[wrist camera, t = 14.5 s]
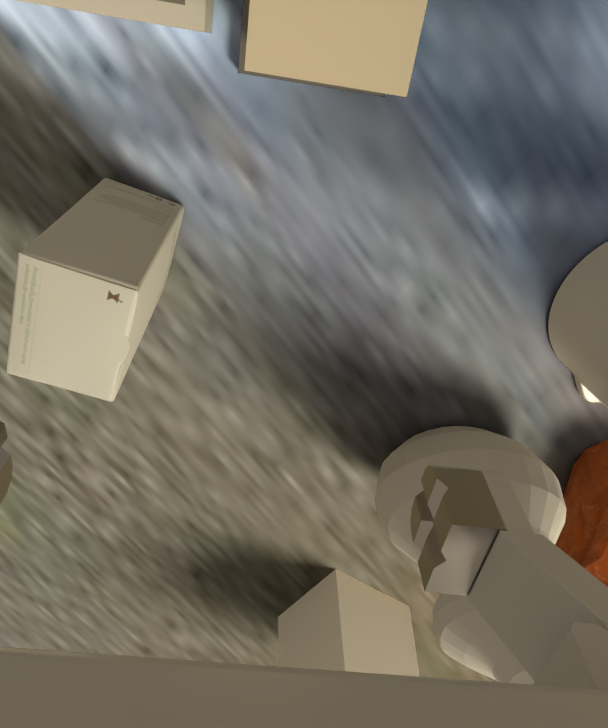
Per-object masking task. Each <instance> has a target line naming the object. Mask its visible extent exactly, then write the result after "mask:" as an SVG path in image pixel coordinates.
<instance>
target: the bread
mask: <svg viewBox="0 0 608 728" xmlns="http://www.w3.org/2000/svg"><path fill="white" fill-rule="evenodd" d="M563 498H564V501H565V505H566V509H567V510H566V519H565V524H564V526H563V528H562V531H561V533H560V535H559V537H558V539H557V542H556V544H555V545H556V546H557V547H559V548H560V549H561V550H562V551H563V552H565V553H566V554H567V555H568V556H570V557H571V558H572V559H573V560H575V561H576V562H577V563H578V564H580V565H581V566H582V567H583V568H585V569H586V570H587V571H588V572H590V573H591V574H592V575H593V576H595V577H596V578H597V579H598V580H600V581H601V582H602V583H603V584H605V585H606V586H607V587H608V439H607V440H605V441H603V442H600V443H598V444H596V445H594V446H592V447H589V448H587V449H585V451H584V452H583V453H582V455H581V456H580V457H579V458H578V460H577V461H576V462H575V464H574V465H573V468H572V471H571V474H570V477H569V480H568V483H567V486H566V489H565V492H564V495H563Z"/></svg>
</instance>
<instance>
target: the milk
mask: <svg viewBox="0 0 608 728" xmlns="http://www.w3.org/2000/svg"><path fill="white" fill-rule="evenodd" d="M278 635H279V667H292V668H306V669H320V670H334V671H349V672H363V673H377V674H391V675H406V676H419V670H418V663H417V656H416V649H415V642H414V635H413V629H412V622H411V615H410V608H409V606H407V605H405V604H403V603H401V602H399V601H397V600H395V599H394V598H392V597H390V596H388V595H386V594H384V593H382V592H380V591H378V590H376V589H374V588H372V587H370V586H368V585H366V584H364V583H362V582H360V581H358V580H356V579H354V578H353V577H351V576H349V575H347V574H345V573H343V572H341V571H339V570H337V569H335V570H334V571H333V572H331V573H330V574H329V575H328V576H327V577H325V578H324V579H323V580H322V581H321V582H319V583H318V584H317V585H316V586H315V587H313V588H312V589H311V590H310V591H309V592H307V593H306V594H305V595H304V596H303V597H301V598H300V599H299V600H298V601H297V602H295V603H294V604H293V605H292V606H291V607H289V608H288V609H287V610H286V611H285V612H283V613H282V614H281V615H280V616H279V617H278Z"/></svg>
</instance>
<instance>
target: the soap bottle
mask: <svg viewBox="0 0 608 728" xmlns="http://www.w3.org/2000/svg"><path fill="white" fill-rule="evenodd" d="M428 465H433V466H443V467H453V468H463V469H473V470H477V469H479V470H491V471H502V472H503V473H504V474H505V475H506V476H507V478H508V480H509V482H510V484H511V486H512V488H513V490H514V492H515V494H516V496H517V498H518V500H519V502H520V504H521V506H522V508H523V510H524V512H525V514H526V516H527V518H528V520H529V522H530V524H531V526H532V529H533V531H534V533H535V534H541V535H544V536H545V537H546V538H547V539H549V540H550V541H551V542H552V543H554V544H556V542H557V539H558V537H559V535H560V533H561V531H562V528H563V526H564V524H565V519H566V510H567V509H566V505H565V501H564V498H563V494H562V490H561V487H560V483H559V480H558V479H557V477H556V475H555V474H554V472H553V471H552V470H551V469H550V468H549V467H548V466H547V465H546V464H545V463H544V462H543V461H542V460H541V459H540V458H538V457H537V456H536V455H535V454H534V453H533V452H532V451H531V450H530V449H528V448H527V447H525V446H524V445H522V444H521V443H519V442H517V441H515V440H512V439H510V438H508V437H505V436H503V435H499V434H496V433H493V432H490V431H487V430H484V429H480V428H475V427H469V426H449V427H440V428H436V429H432V430H428V431H425V432H422V433H419V434H416V435H414V436H413V437H411V438H409V439H408V440H406V441H405V442H404V443H403V444H401V445H400V446H399V447H398V448H397V449H396V450H394V451H393V452H392V453H391V454H390V455H389V456H388V457H387V458H386V459H385V460H384V461H383V463H382V466H381V470H380V473H379V478H378V484H377V490H376V496H375V504H376V511H377V514H378V516H379V519H380V521H381V523H382V525H383V527H384V529H385V531H386V533H387V535H388V537H389V539H390V540H391V542H392V543H393V544H394V545H395V546H396V547H397V548H398V549H399V550H400V551H402V552H403V553H404V554H405V555H407V556H408V557H409V558H410V559H412V560H413V561H414V562H415V563H417V564H418V560H419V557H420V554H421V552H422V551H421V550H420V549H419V548H418V547H417V546H416V545H415V544H414V543H413V539H412V534H411V524H410V520H411V510H412V506H413V502H414V499H415V496H416V495H418V494H419V493H420V492H422V491H423V490H424V489H423V485H422V482H421V478H422V476H423V473H424V470H425V469H426V468H427V466H428ZM433 627H434V635H435V637H436V639H437V641H438V643H439V645H440V647H441V648H442V650H443V651H444V652H445V653H446V654H447V655H448V656H449V657H451V658H453V659H455V660H456V661H458V662H460V663H461V664H463V665H465V666H466V667H468V668H470V669H472V670H475V671H477V672H479V673H481V674H484V675H486V676H488V677H490V678H493V679H495V680H497V681H498V682H503V683H517V684H531V685H533V684H534V682H535V681H534V680H533V678H532V677H531V676H530V675H529V674H528V672H527V671H526V670H525V669H524V667H523V666H522V665H521V664H520V662H519V661H518V660H517V659H516V658H515V656H514V655H513V654H512V653H511V651H510V650H509V649H508V648H507V646H506V645H505V644H504V643H503V642H502V640H501V639H500V638H499V637H498V635H497V634H496V633H495V632H494V630H493V629H492V628H491V627H490V626H489V624H488V623H487V622H486V621H485V619H484V618H483V617H482V616H481V614H480V613H479V612H478V611H477V610H476V608H475V607H474V606H473V605H472V603H471V602H470V601H469V600H468V596H461V595H452V594H443V593H440V595H439V597H438V599H437V601H436V603H435V606H434V608H433Z"/></svg>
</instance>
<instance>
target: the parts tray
mask: <svg viewBox="0 0 608 728" xmlns="http://www.w3.org/2000/svg"><path fill="white" fill-rule="evenodd" d="M18 1H24V2H30V3H36V4H42V5H47V6H53V7H59V8H65V9H71V10H77V11H83V12H89V13H94V14H100V15H106V16H112V17H118V18H124V19H130V20H136V21H141V22H147V23H153V24H159V25H165V26H171V27H177V28H183V29H189V30H194V31H200V32H208V33H212V21H213V1H214V0H18Z"/></svg>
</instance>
